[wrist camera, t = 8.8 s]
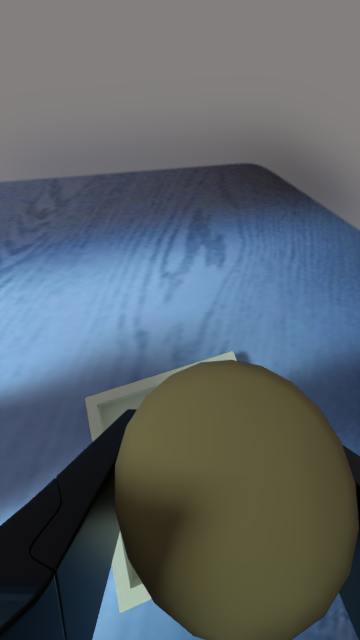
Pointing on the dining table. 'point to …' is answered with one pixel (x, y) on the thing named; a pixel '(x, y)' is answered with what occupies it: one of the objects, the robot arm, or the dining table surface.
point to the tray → (100, 417)
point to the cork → (236, 503)
